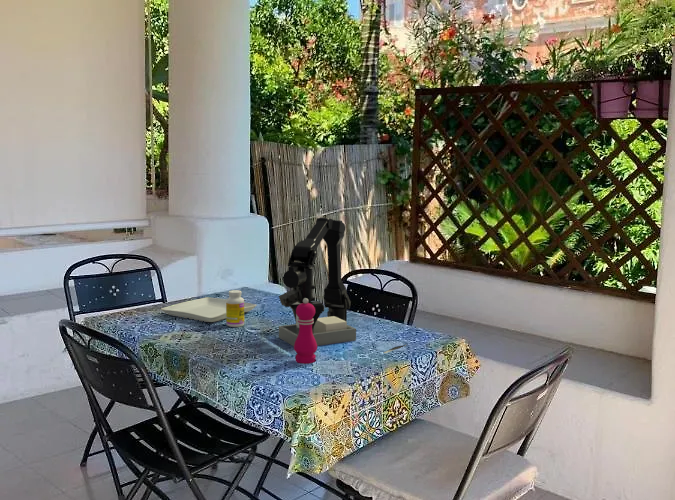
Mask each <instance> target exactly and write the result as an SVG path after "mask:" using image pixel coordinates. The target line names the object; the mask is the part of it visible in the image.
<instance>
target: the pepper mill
mask: <svg viewBox="0 0 675 500" xmlns="http://www.w3.org/2000/svg"><path fill="white" fill-rule="evenodd" d="M296 314H297V316H298V317H299V318H298V324H299V334H298V336H297V339H296V341H295V344H294V346H293V350H294V351H295V352H296V354H295V362H296V363H298V364H305V365H306V364H307V365H308V364H312V363H315V362H316V358H317V357H316V354H315V353H316V351H317V350H318V346H317V343H316V340H315V338H314V336H313V333H312V324H313V323H314V322H313V320H314V319H313V316H314V315H315V307H314V306H313V305H312V304H310V303H308V299H307V298H304V299H303V303H301V304H299V305H298V306H297V308H296Z"/></svg>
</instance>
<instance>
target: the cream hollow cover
mask: <svg viewBox="0 0 675 500" xmlns="http://www.w3.org/2000/svg"><path fill="white" fill-rule="evenodd" d="M347 325H348V322H347V321H344V320H342V319H340V318H337V317H335V316H331V317H327V316H324V317H319V318H318V319H317V321H316V323H315V325H314V334H315V333H322V332H330V331H337V330H345V329H347Z"/></svg>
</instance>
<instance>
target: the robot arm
mask: <svg viewBox="0 0 675 500" xmlns="http://www.w3.org/2000/svg"><path fill="white" fill-rule="evenodd" d="M345 232H346V224H345V223H344V222H343V221H342V220H340V219H339V220H338V219H337V220H336V219H335V220H334V219H332V218H330V217H317V218H316V219H315V223H314V225H313V227H312V228H311V230H309V232H308V234H307V236H306V237H305V238H304V239H303V240H301V241H298V242H297V243H296V244H295V245H294V246H293V248H292V250H291V252H290V256H289V260H288V263H287V268H288V269H287V270H286V271H285V272H284V274H283V276H282V281H283V284H284V286H285V287H287V288H289V289H291V290H289V291H288V290H287V291H286V292H284V293H282V294H280V295H279V296H278V299H279V301H280V303H281V305H282V306H284V307H285V308H290V309H291V311H292V313H293V316H294V320H295V322H296V308H297V306H298V305H299V304H301V303H303V299H304V298H307V299H308V303H310V304H312V305H313V306H314V307H315V315H314V316H313V319H314V320H313V322H314V323H313V324H312V329H313V327H314V325H315V323H316V321H317V319H318V318H320V316H321V314H323V312H325V308H326V309H328V311H327V313H326V314H327V315H326V317H331V316H335V317H337V318H340V319H342V320H344V321H346V322H347V321H348V317H347V316H348V310H349V309H350V308H351V302H352V301H351V299H350V297H349V295H348V293H347V292H348V291H347V287H346V286H345V283H343V281H342V261H341V260H342V258H341V255H342V254H341V243H342V240H343V239H344V238H345ZM322 240H323V241H324V242H325V244H326V248H327V249H326V252H327V272H328V273H327V277H328V283H327V284H326V287H325V288H324V289H323V302H324V303H323V302H320V301H317V300H316V298H315V297H314V295H313V291H314V290H315V289H316V286H315V285H314V284H313V282H314V280H313V279H314V275H313V273H314V272H313V271H314V270H313V269H314V268H315V262H316V261H315V260H317V259H316V258H317V256H318V250H317V249H318V247H319V245H320V243H321V242H323V241H322Z"/></svg>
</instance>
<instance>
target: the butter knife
mask: <svg viewBox="0 0 675 500" xmlns="http://www.w3.org/2000/svg"><path fill="white" fill-rule="evenodd" d="M406 345H407V344H405V345H404V344H403V345H397V346H394V347H392V348H390V349H388V350H386V351H384V352H383V354H388V353H391V352H393V351H395V350H398V349H399V350H400V349H401V347H402V348H404V347H403V346H405V347H406Z"/></svg>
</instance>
